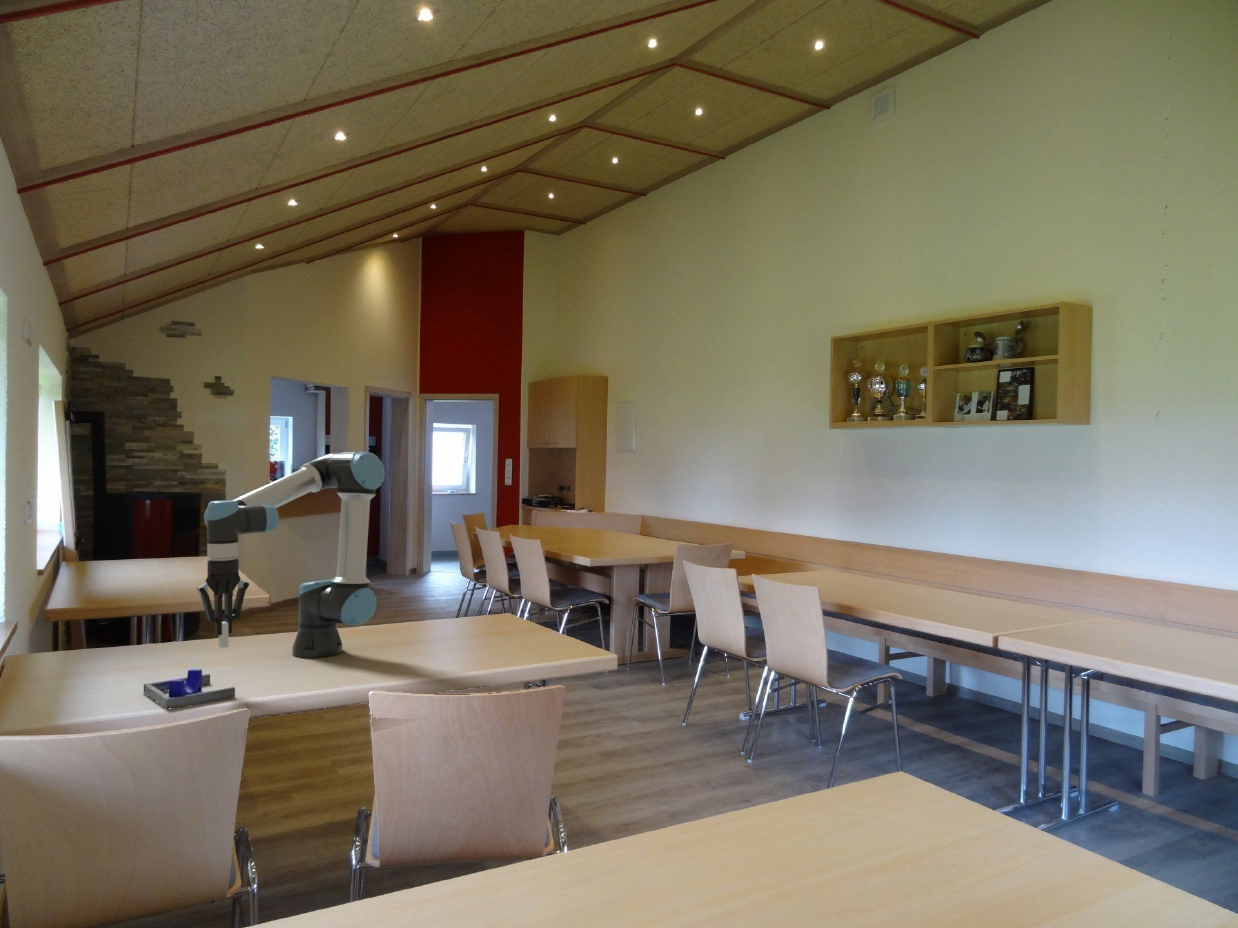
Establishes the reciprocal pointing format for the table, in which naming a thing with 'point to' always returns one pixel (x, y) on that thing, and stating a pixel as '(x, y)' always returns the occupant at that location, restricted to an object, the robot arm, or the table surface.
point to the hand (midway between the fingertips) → (223, 646)
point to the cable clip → (186, 684)
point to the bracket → (155, 693)
